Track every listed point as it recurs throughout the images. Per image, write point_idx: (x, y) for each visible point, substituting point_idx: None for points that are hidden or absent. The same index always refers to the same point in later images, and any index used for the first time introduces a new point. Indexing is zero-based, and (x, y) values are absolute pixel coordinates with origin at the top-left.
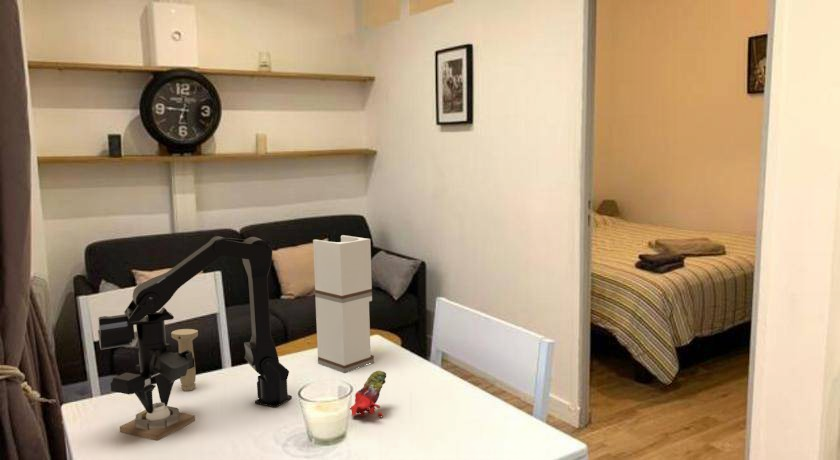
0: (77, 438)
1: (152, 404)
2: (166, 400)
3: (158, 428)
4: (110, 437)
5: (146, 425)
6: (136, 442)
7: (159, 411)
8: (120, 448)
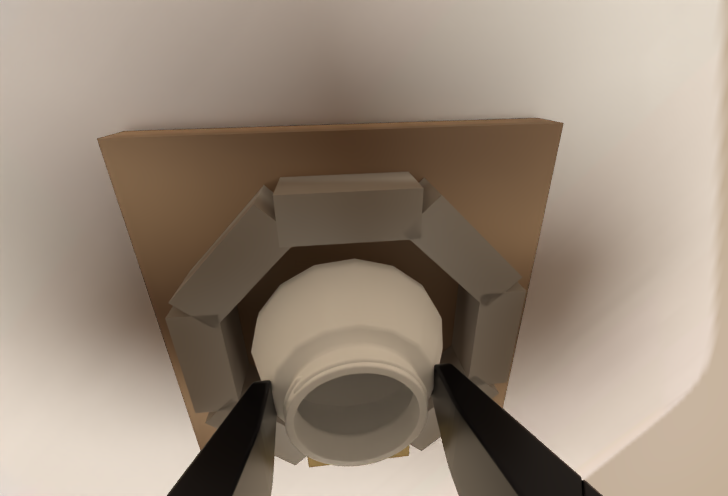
0: (584, 470)
1: (477, 428)
2: (255, 424)
3: (458, 211)
4: (550, 385)
5: (517, 284)
6: (582, 227)
7: (398, 331)
8: (666, 245)
